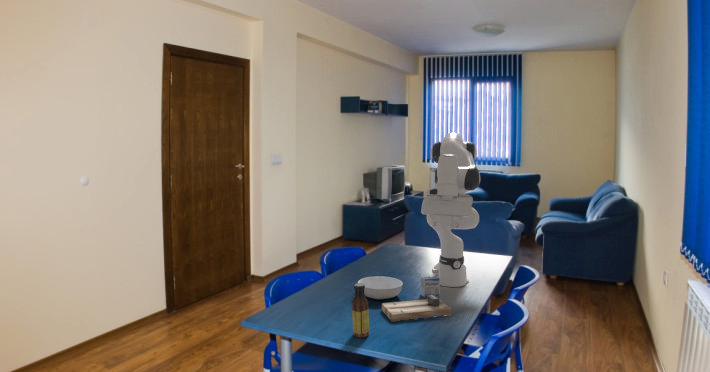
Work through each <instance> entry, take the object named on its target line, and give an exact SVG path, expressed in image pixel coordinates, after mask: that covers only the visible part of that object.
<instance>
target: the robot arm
mask: <svg viewBox="0 0 710 372" xmlns="http://www.w3.org/2000/svg"><path fill="white" fill-rule="evenodd" d="M477 152H478V151H477V147H476V144H475V143H474V142H472V141H464V139H463V137H462V136H461V135H460V134H459V133H457V132H450V133H447V134H446V135H445V136H444V137H443V138H442V140H441V141H437V142H435V143H434V144H432V147H431V150H430V156H431V158H432V161H433V162H434V163H437V167H436V170H434V184H435V186H436V187H434V188H430V189H427V190H426V191H425V193H424V195H425V197H424V198H423V200H422V203H421V210H420V213H421V214H422V215H426V221H427V224H428V225H429V226H430V227H431V228H432V229H433V230H434V231H435V232H436V233H437V235H438V238H439V241H440V254H439V258H438V263H436V264H435V265H434V266H433V268H432V270H431V274H428V277H432V276H437V277H438V278H440V286H442V287H446V288H447V287H449V288H460V287H465V286H466V285H467V284H469V282H470V280H469V279H468V278H467V266H466V265H465V256H464V241H463V239H462V238H461V237H459V236H458V235H455V234H454V233H453V232H452V231H451V230H471V229H472V230H473V229H475V228H476V227H477V226H478V224H479V223H480V214H479V213H478V211H477V210H476V209H475V208H474V207H473V202H474V199H473V196H472V195H470V194H468V193H466V191H472V192H473V191H475V190H476V189H477V188H479V186H480V183H481V174H480V172H479V169H478V167H477V166H476V161H475V159H476V156H477V154H478V153H477Z"/></svg>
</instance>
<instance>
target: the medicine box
mask: <svg viewBox="0 0 710 372" xmlns="http://www.w3.org/2000/svg"><path fill="white" fill-rule="evenodd" d="M440 287H441V285H440V278H438V277H437V276H432V277H429V276H423V277H420V295H421V296H422V297H423V298H427V295H435V296H437V297H440V293H441V291H440V290H441V289H440Z"/></svg>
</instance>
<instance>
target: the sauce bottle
mask: <svg viewBox="0 0 710 372" xmlns="http://www.w3.org/2000/svg"><path fill="white" fill-rule="evenodd" d="M364 288H365V285H364V284H362V283H358V282H357V283H355V284H353V289H354V297H353V299H352V301H351V306H352V307H351V312H352V313H351V314H352V316H351V317H352V318H351V319H352V334H353V336H354V337H355V338H367V337H368V336H370V317H369V315H370V312H369V300H368V299H367V296H365V294H364Z"/></svg>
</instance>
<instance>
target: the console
mask: <svg viewBox="0 0 710 372" xmlns="http://www.w3.org/2000/svg"><path fill="white" fill-rule="evenodd" d="M381 312H383V313H384V315H386V317H387V318H388V319H389V321H391V322H393V323H394V322H401V321H400V320H404V321H410V320H409V319H414V320H417V319H416V318H424V319H428V318H427V317H433V318H435V317H434V316H443V317H445V316H444V315H451V316H452V307H449V305H447V304H445V303H444V302H443V301H442V300H440V304H439V306H432V305H431V304H429V303H428V302H427V298H426V299H414V300H405V301H392V302H383V303H381Z"/></svg>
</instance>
